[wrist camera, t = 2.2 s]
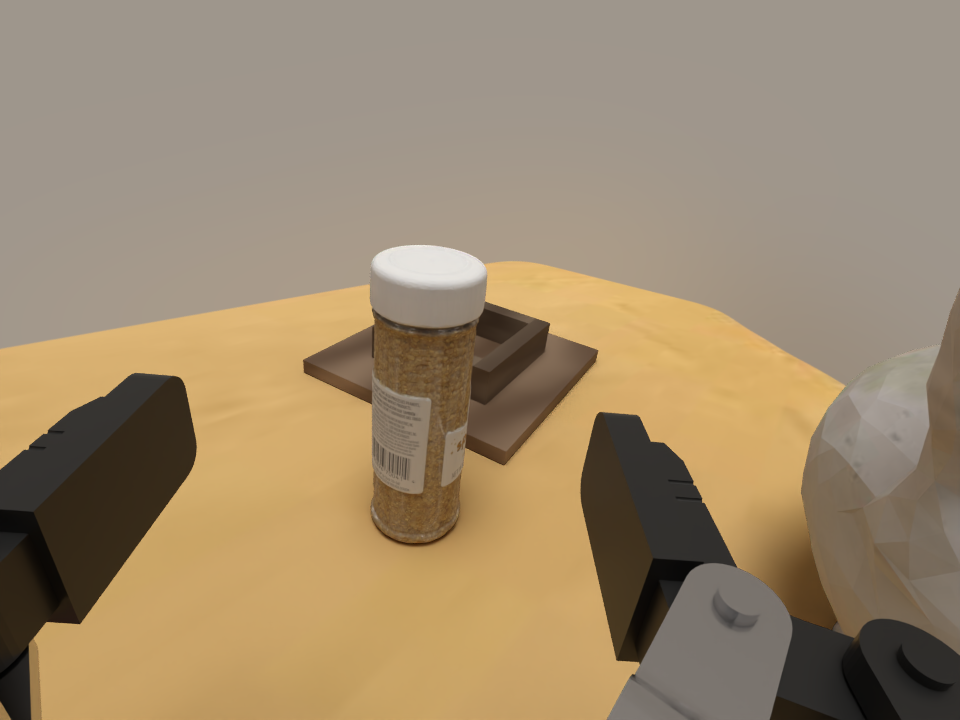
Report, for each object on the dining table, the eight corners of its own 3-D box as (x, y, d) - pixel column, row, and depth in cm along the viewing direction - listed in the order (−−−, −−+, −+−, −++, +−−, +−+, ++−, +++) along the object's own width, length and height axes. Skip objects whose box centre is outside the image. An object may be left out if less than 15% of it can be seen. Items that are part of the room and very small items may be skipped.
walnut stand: (304, 372, 37) (301, 327, 36) (434, 304, 50) (436, 268, 48) (503, 465, 31) (511, 416, 29) (595, 360, 44) (605, 322, 42)
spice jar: (476, 526, 27) (512, 273, 20) (393, 561, 24) (403, 288, 18) (431, 470, 30) (450, 237, 23) (354, 497, 28) (351, 245, 21)
